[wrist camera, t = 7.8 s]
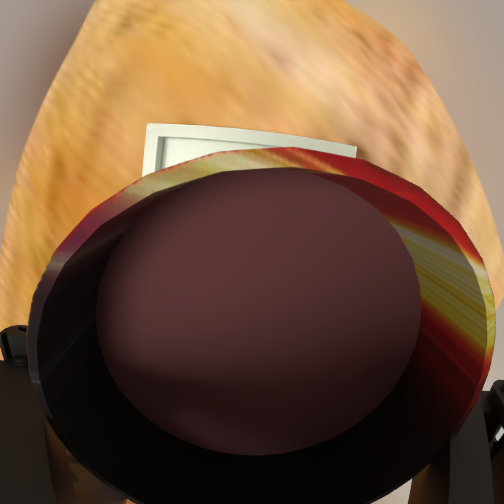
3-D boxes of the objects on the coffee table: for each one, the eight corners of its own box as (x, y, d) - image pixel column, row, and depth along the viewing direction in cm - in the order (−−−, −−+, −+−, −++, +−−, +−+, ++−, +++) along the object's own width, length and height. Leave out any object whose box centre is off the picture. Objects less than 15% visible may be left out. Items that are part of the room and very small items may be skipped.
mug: (147, 372, 18) (88, 532, 7) (179, 146, 15) (31, 104, 3) (292, 398, 19) (325, 560, 8) (361, 189, 16) (547, 242, 4)
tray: (146, 307, 34) (139, 319, 32) (155, 127, 29) (147, 123, 27) (318, 323, 36) (324, 335, 33) (346, 148, 31) (357, 146, 28)
